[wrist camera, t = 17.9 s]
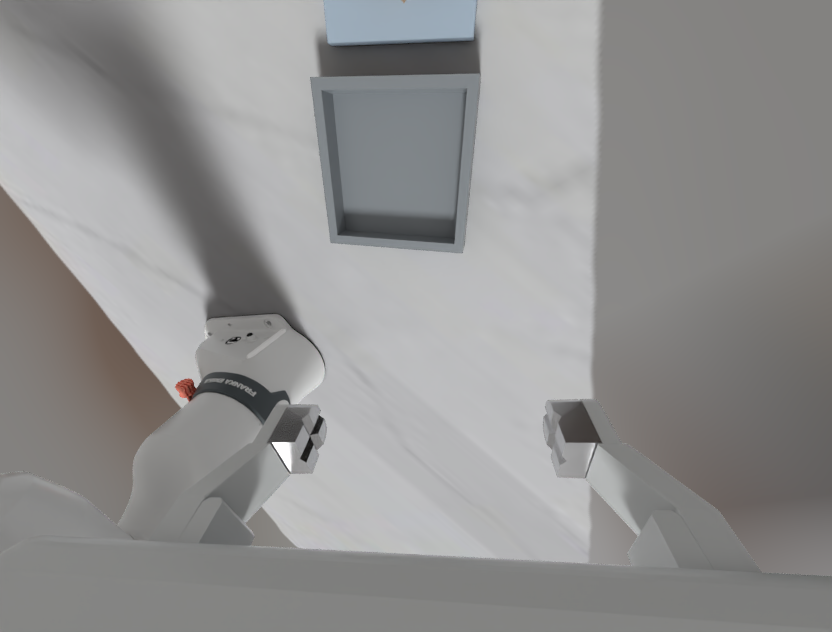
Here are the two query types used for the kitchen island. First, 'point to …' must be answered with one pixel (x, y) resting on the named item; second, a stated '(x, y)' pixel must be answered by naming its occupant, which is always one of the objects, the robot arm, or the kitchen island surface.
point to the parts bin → (397, 158)
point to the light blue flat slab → (398, 21)
